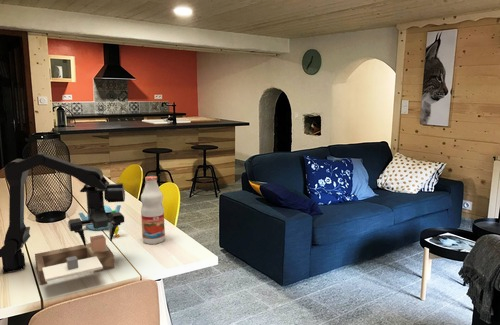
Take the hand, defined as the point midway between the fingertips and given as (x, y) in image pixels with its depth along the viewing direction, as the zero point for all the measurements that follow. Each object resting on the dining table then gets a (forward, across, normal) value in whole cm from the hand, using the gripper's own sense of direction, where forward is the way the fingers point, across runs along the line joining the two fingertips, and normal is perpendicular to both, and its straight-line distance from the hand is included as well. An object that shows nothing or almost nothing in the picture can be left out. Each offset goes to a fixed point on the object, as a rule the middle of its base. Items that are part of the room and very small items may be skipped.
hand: (98, 243), depth 145 cm
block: (+2, 0, 0) cm, 2 cm away
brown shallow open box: (+8, -8, 0) cm, 11 cm away
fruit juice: (+8, +25, +10) cm, 28 cm away
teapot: (+8, +10, +41) cm, 43 cm away
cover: (+2, -11, -13) cm, 17 cm away
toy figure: (+8, +13, +23) cm, 27 cm away
